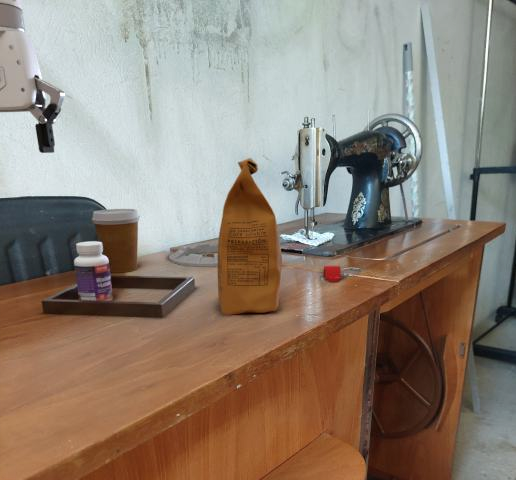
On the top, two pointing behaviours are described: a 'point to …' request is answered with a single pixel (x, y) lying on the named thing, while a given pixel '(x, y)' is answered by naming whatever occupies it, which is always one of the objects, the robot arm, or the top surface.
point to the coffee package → (248, 249)
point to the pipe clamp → (332, 273)
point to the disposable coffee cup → (118, 237)
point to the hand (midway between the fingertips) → (18, 153)
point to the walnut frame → (69, 305)
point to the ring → (195, 256)
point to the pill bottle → (92, 272)
